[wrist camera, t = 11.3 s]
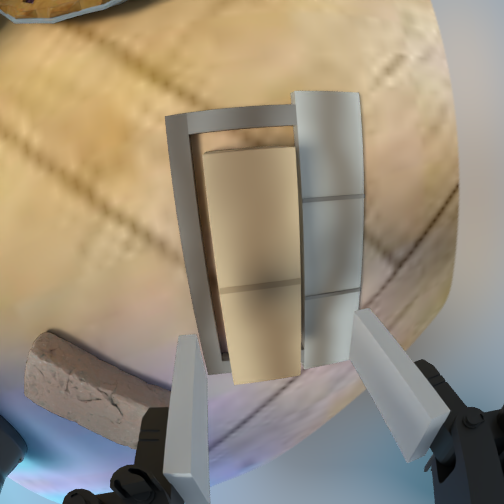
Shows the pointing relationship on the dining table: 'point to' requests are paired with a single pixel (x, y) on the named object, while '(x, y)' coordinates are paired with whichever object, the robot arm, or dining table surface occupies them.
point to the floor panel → (310, 215)
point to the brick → (89, 390)
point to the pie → (50, 9)
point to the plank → (257, 258)
